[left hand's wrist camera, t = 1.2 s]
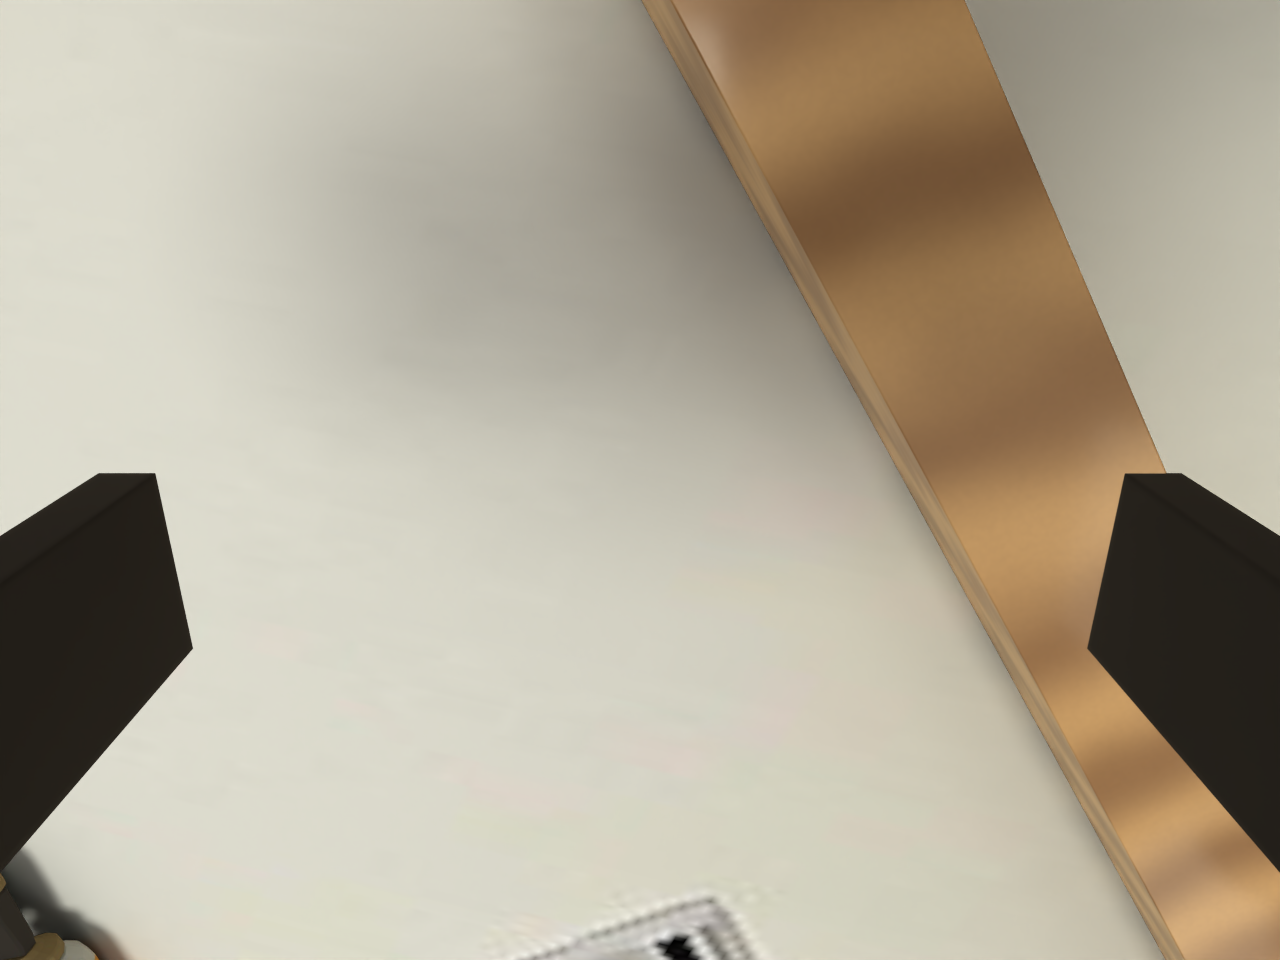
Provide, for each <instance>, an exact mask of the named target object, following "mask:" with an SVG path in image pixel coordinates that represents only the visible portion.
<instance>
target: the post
mask: <svg viewBox="0 0 1280 960" xmlns="http://www.w3.org/2000/svg"><path fill="white" fill-rule="evenodd" d="M641 1H642V2H643V4H644V6H645V8H646V10H647V12H648V13H649V15H650V17H651V19H652V21H653V23H654V24H655V26H656V28H657V30H658V32H659V34H660V35H661V37H662V39H663V41H664V43H665V44H666V46H667V48H668V50H669V52H670V54H671V55H672V57H673V59H674V61H675V63H676V65H677V66H678V68H679V70H680V72H681V74H682V76H683V77H684V79H685V81H686V83H687V85H688V87H689V88H690V90H691V92H692V94H693V96H694V98H695V99H696V101H697V103H698V105H699V107H700V109H701V110H702V112H703V114H704V116H705V118H706V120H707V121H708V123H709V125H710V127H711V129H712V131H713V132H714V134H715V136H716V138H717V140H718V141H719V143H720V145H721V147H722V149H723V151H724V152H725V154H726V156H727V158H728V160H729V162H730V163H731V165H732V167H733V169H734V171H735V173H736V174H737V176H738V178H739V180H740V182H741V184H742V185H743V187H744V189H745V191H746V193H747V195H748V196H749V198H750V200H751V202H752V204H753V206H754V207H755V209H756V211H757V213H758V215H759V217H760V218H761V220H762V222H763V224H764V226H765V227H766V229H767V231H768V233H769V235H770V237H771V238H772V240H773V242H774V244H775V246H776V248H777V249H778V251H779V253H780V255H781V257H782V259H783V260H784V262H785V264H786V266H787V268H788V270H789V271H790V273H791V275H792V277H793V279H794V281H795V282H796V284H797V286H798V288H799V290H800V292H801V293H802V295H803V297H804V299H805V301H806V303H807V304H808V306H809V308H810V310H811V312H812V314H813V315H814V317H815V319H816V321H817V323H818V324H819V326H820V328H821V330H822V332H823V334H824V335H825V337H826V339H827V341H828V343H829V345H830V346H831V348H832V350H833V352H834V354H835V356H836V357H837V359H838V361H839V363H840V365H841V367H842V368H843V370H844V372H845V374H846V376H847V378H848V379H849V381H850V383H851V385H852V387H853V389H854V390H855V392H856V394H857V396H858V398H859V400H860V401H861V403H862V405H863V407H864V409H865V410H866V412H867V414H868V416H869V418H870V420H871V421H872V423H873V425H874V427H875V429H876V431H877V432H878V434H879V436H880V438H881V440H882V442H883V443H884V445H885V447H886V449H887V451H888V453H889V454H890V456H891V458H892V460H893V462H894V464H895V465H896V467H897V469H898V471H899V473H900V475H901V476H902V478H903V480H904V482H905V484H906V486H907V487H908V489H909V491H910V493H911V495H912V497H913V498H914V500H915V502H916V504H917V506H918V507H919V509H920V511H921V513H922V515H923V517H924V518H925V520H926V522H927V524H928V526H929V528H930V529H931V531H932V533H933V535H934V537H935V539H936V540H937V542H938V544H939V546H940V548H941V550H942V551H943V553H944V555H945V557H946V559H947V561H948V562H949V564H950V566H951V568H952V570H953V572H954V573H955V575H956V577H957V579H958V581H959V583H960V584H961V586H962V588H963V590H964V592H965V593H966V595H967V597H968V599H969V601H970V603H971V604H972V606H973V608H974V610H975V612H976V614H977V615H978V617H979V619H980V621H981V623H982V625H983V626H984V628H985V630H986V632H987V634H988V636H989V637H990V639H991V641H992V643H993V645H994V647H995V648H996V650H997V652H998V654H999V656H1000V658H1001V659H1002V661H1003V663H1004V665H1005V667H1006V669H1007V670H1008V672H1009V674H1010V676H1011V678H1012V680H1013V681H1014V683H1015V685H1016V687H1017V689H1018V690H1019V692H1020V694H1021V696H1022V698H1023V700H1024V701H1025V703H1026V705H1027V707H1028V709H1029V711H1030V712H1031V714H1032V716H1033V718H1034V720H1035V722H1036V723H1037V725H1038V727H1039V729H1040V731H1041V733H1042V734H1043V736H1044V738H1045V740H1046V742H1047V744H1048V745H1049V747H1050V749H1051V751H1052V753H1053V755H1054V756H1055V758H1056V760H1057V762H1058V764H1059V766H1060V767H1061V769H1062V771H1063V773H1064V775H1065V776H1066V778H1067V780H1068V782H1069V784H1070V786H1071V787H1072V789H1073V791H1074V793H1075V795H1076V797H1077V798H1078V800H1079V802H1080V804H1081V806H1082V808H1083V809H1084V811H1085V813H1086V815H1087V817H1088V819H1089V820H1090V822H1091V824H1092V826H1093V828H1094V830H1095V831H1096V833H1097V835H1098V837H1099V839H1100V841H1101V842H1102V844H1103V846H1104V848H1105V850H1106V852H1107V853H1108V855H1109V857H1110V859H1111V861H1112V863H1113V864H1114V866H1115V868H1116V870H1117V872H1118V873H1119V875H1120V877H1121V879H1122V881H1123V883H1124V884H1125V886H1126V888H1127V890H1128V892H1129V894H1130V895H1131V897H1132V899H1133V901H1134V903H1135V905H1136V906H1137V908H1138V910H1139V912H1140V914H1141V916H1142V917H1143V919H1144V921H1145V923H1146V925H1147V927H1148V928H1149V930H1150V932H1151V934H1152V936H1153V938H1154V939H1155V941H1156V943H1157V945H1158V947H1159V949H1160V950H1161V952H1162V954H1163V956H1164V958H1165V959H1166V960H1280V872H1279V871H1278V870H1277V869H1276V868H1275V866H1274V865H1273V864H1272V863H1271V862H1270V861H1269V859H1268V858H1267V857H1266V856H1265V855H1264V854H1263V853H1262V851H1261V850H1260V849H1259V848H1258V847H1257V846H1256V844H1255V843H1254V842H1253V841H1252V840H1251V839H1250V837H1249V836H1248V835H1247V834H1246V833H1245V832H1244V830H1243V829H1242V828H1241V827H1240V826H1239V825H1238V823H1237V822H1236V821H1235V820H1234V819H1233V818H1232V816H1231V815H1230V814H1229V813H1228V812H1227V811H1226V809H1225V808H1224V807H1223V806H1222V805H1221V804H1220V803H1219V801H1218V800H1217V799H1216V798H1215V797H1214V796H1213V794H1212V793H1211V792H1210V791H1209V790H1208V789H1207V787H1206V786H1205V785H1204V784H1203V783H1202V782H1201V780H1200V779H1199V778H1198V777H1197V776H1196V775H1195V773H1194V772H1193V771H1192V770H1191V769H1190V768H1189V766H1188V765H1187V764H1186V763H1185V762H1184V761H1183V759H1182V758H1181V757H1180V756H1179V755H1178V754H1177V753H1176V751H1175V750H1174V749H1173V748H1172V747H1171V746H1170V744H1169V743H1168V742H1167V741H1166V740H1165V739H1164V737H1163V736H1162V735H1161V734H1160V733H1159V732H1158V730H1157V729H1156V728H1155V727H1154V726H1153V725H1152V723H1151V722H1150V721H1149V720H1148V719H1147V718H1146V716H1145V715H1144V714H1143V713H1142V712H1141V711H1140V709H1139V708H1138V707H1137V706H1136V705H1135V704H1134V703H1133V701H1132V700H1131V699H1130V698H1129V697H1128V696H1127V694H1126V693H1125V692H1124V691H1123V690H1122V689H1121V687H1120V686H1119V685H1118V684H1117V683H1116V682H1115V680H1114V679H1113V678H1112V677H1111V676H1110V675H1109V673H1108V672H1107V671H1106V670H1105V669H1104V668H1103V666H1102V665H1101V664H1100V663H1099V662H1098V661H1097V659H1096V658H1095V657H1094V656H1093V655H1092V654H1091V653H1090V651H1089V650H1088V649H1087V647H1088V642H1089V637H1090V633H1091V628H1092V623H1093V619H1094V614H1095V609H1096V605H1097V600H1098V595H1099V591H1100V586H1101V582H1102V577H1103V572H1104V568H1105V563H1106V558H1107V554H1108V549H1109V544H1110V540H1111V535H1112V530H1113V526H1114V521H1115V516H1116V512H1117V507H1118V503H1119V498H1120V493H1121V489H1122V484H1123V479H1124V475H1125V473H1166V471H1165V468H1164V466H1163V464H1162V461H1161V459H1160V457H1159V454H1158V452H1157V450H1156V447H1155V445H1154V443H1153V440H1152V438H1151V436H1150V433H1149V431H1148V429H1147V426H1146V424H1145V422H1144V419H1143V417H1142V415H1141V412H1140V410H1139V407H1138V405H1137V403H1136V400H1135V398H1134V396H1133V393H1132V391H1131V389H1130V386H1129V384H1128V382H1127V379H1126V377H1125V375H1124V372H1123V370H1122V368H1121V365H1120V363H1119V361H1118V358H1117V356H1116V354H1115V351H1114V349H1113V347H1112V344H1111V342H1110V340H1109V337H1108V335H1107V333H1106V330H1105V328H1104V326H1103V323H1102V321H1101V319H1100V316H1099V314H1098V312H1097V309H1096V307H1095V305H1094V302H1093V300H1092V297H1091V295H1090V293H1089V290H1088V288H1087V286H1086V283H1085V281H1084V279H1083V276H1082V274H1081V272H1080V269H1079V267H1078V265H1077V262H1076V260H1075V258H1074V255H1073V253H1072V251H1071V248H1070V246H1069V244H1068V241H1067V239H1066V237H1065V234H1064V232H1063V230H1062V227H1061V225H1060V223H1059V220H1058V218H1057V216H1056V213H1055V211H1054V209H1053V206H1052V204H1051V202H1050V199H1049V197H1048V194H1047V192H1046V190H1045V187H1044V185H1043V183H1042V180H1041V178H1040V176H1039V173H1038V171H1037V169H1036V166H1035V164H1034V162H1033V159H1032V157H1031V155H1030V152H1029V150H1028V148H1027V145H1026V143H1025V141H1024V138H1023V136H1022V134H1021V131H1020V129H1019V127H1018V124H1017V122H1016V120H1015V117H1014V115H1013V113H1012V110H1011V108H1010V106H1009V103H1008V101H1007V99H1006V96H1005V94H1004V92H1003V89H1002V87H1001V84H1000V82H999V80H998V77H997V75H996V73H995V70H994V68H993V66H992V63H991V61H990V59H989V56H988V54H987V52H986V49H985V47H984V45H983V42H982V40H981V38H980V35H979V33H978V31H977V28H976V26H975V24H974V21H973V19H972V17H971V14H970V12H969V10H968V7H967V5H966V3H965V0H641Z"/></svg>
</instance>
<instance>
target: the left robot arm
mask: <svg viewBox="0 0 1280 960" xmlns="http://www.w3.org/2000/svg"><path fill="white" fill-rule="evenodd" d="M192 649H193V647H192V642H191V637H190V633H189V628H188V623H187V619H186V614H185V609H184V605H183V600H182V595H181V591H180V586H179V582H178V577H177V572H176V568H175V563H174V558H173V554H172V549H171V544H170V540H169V535H168V530H167V526H166V521H165V516H164V512H163V507H162V503H161V498H160V493H159V489H158V484H157V479H156V475H155V473H98V474H97V475H95V476H94V477H92V478H91V479H89V480H87V481H86V482H84V483H83V484H81V485H80V486H78V487H76V488H75V489H73V490H72V491H70V492H69V493H67V494H65V495H64V496H62V497H61V498H59V499H58V500H56V501H54V502H53V503H51V504H50V505H48V506H47V507H45V508H43V509H42V510H40V511H39V512H37V513H36V514H34V515H32V516H31V517H29V518H28V519H26V520H25V521H23V522H21V523H20V524H18V525H17V526H15V527H14V528H12V529H10V530H9V531H7V532H6V533H4V534H3V535H1V536H0V872H1V871H2V870H3V869H4V868H5V866H6V865H7V864H8V863H9V862H10V861H11V859H12V858H13V857H14V856H15V855H16V854H17V853H18V851H19V850H20V849H21V848H22V847H23V846H24V844H25V843H26V842H27V841H28V840H29V839H30V837H31V836H32V835H33V834H34V833H35V832H36V830H37V829H38V828H39V827H40V826H41V825H42V823H43V822H44V821H45V820H46V819H47V818H48V816H49V815H50V814H51V813H52V812H53V811H54V809H55V808H56V807H57V806H58V805H59V804H60V803H61V801H62V800H63V799H64V798H65V797H66V796H67V794H68V793H69V792H70V791H71V790H72V789H73V787H74V786H75V785H76V784H77V783H78V782H79V780H80V779H81V778H82V777H83V776H84V775H85V773H86V772H87V771H88V770H89V769H90V768H91V766H92V765H93V764H94V763H95V762H96V761H97V759H98V758H99V757H100V756H101V755H102V754H103V753H104V751H105V750H106V749H107V748H108V747H109V746H110V744H111V743H112V742H113V741H114V740H115V739H116V737H117V736H118V735H119V734H120V733H121V732H122V730H123V729H124V728H125V727H126V726H127V725H128V723H129V722H130V721H131V720H132V719H133V718H134V716H135V715H136V714H137V713H138V712H139V711H140V709H141V708H142V707H143V706H144V705H145V704H146V703H147V701H148V700H149V699H150V698H151V697H152V696H153V694H154V693H155V692H156V691H157V690H158V689H159V687H160V686H161V685H162V684H163V683H164V682H165V680H166V679H167V678H168V677H169V676H170V675H171V673H172V672H173V671H174V670H175V669H176V668H177V666H178V665H179V664H180V663H181V662H182V661H183V659H184V658H185V657H186V656H187V655H188V654H189V652H190V651H191V650H192ZM1087 649H1088V650H1089V651H1090V653H1091V654H1092V655H1093V656H1094V657H1095V658H1096V659H1097V661H1098V662H1099V663H1100V664H1101V665H1102V666H1103V668H1104V669H1105V670H1106V671H1107V672H1108V673H1109V675H1110V676H1111V677H1112V678H1113V679H1114V680H1115V682H1116V683H1117V684H1118V685H1119V686H1120V687H1121V689H1122V690H1123V691H1124V692H1125V693H1126V694H1127V696H1128V697H1129V698H1130V699H1131V700H1132V701H1133V703H1134V704H1135V705H1136V706H1137V707H1138V708H1139V709H1140V711H1141V712H1142V713H1143V714H1144V715H1145V716H1146V718H1147V719H1148V720H1149V721H1150V722H1151V723H1152V725H1153V726H1154V727H1155V728H1156V729H1157V730H1158V732H1159V733H1160V734H1161V735H1162V736H1163V737H1164V739H1165V740H1166V741H1167V742H1168V743H1169V744H1170V746H1171V747H1172V748H1173V749H1174V750H1175V751H1176V753H1177V754H1178V755H1179V756H1180V757H1181V758H1182V759H1183V761H1184V762H1185V763H1186V764H1187V765H1188V766H1189V768H1190V769H1191V770H1192V771H1193V772H1194V773H1195V775H1196V776H1197V777H1198V778H1199V779H1200V780H1201V782H1202V783H1203V784H1204V785H1205V786H1206V787H1207V789H1208V790H1209V791H1210V792H1211V793H1212V794H1213V796H1214V797H1215V798H1216V799H1217V800H1218V801H1219V803H1220V804H1221V805H1222V806H1223V807H1224V808H1225V809H1226V811H1227V812H1228V813H1229V814H1230V815H1231V816H1232V818H1233V819H1234V820H1235V821H1236V822H1237V823H1238V825H1239V826H1240V827H1241V828H1242V829H1243V830H1244V832H1245V833H1246V834H1247V835H1248V836H1249V837H1250V839H1251V840H1252V841H1253V842H1254V843H1255V844H1256V846H1257V847H1258V848H1259V849H1260V850H1261V851H1262V853H1263V854H1264V855H1265V856H1266V857H1267V858H1268V859H1269V861H1270V862H1271V863H1272V864H1273V865H1274V866H1275V868H1276V869H1277V870H1278V871H1279V872H1280V536H1279V535H1277V534H1276V533H1274V532H1273V531H1271V530H1270V529H1268V528H1266V527H1265V526H1263V525H1262V524H1260V523H1259V522H1257V521H1255V520H1254V519H1252V518H1251V517H1249V516H1248V515H1246V514H1244V513H1243V512H1241V511H1240V510H1238V509H1237V508H1235V507H1233V506H1232V505H1230V504H1229V503H1227V502H1226V501H1224V500H1222V499H1221V498H1219V497H1218V496H1216V495H1215V494H1213V493H1211V492H1210V491H1208V490H1207V489H1205V488H1204V487H1202V486H1200V485H1199V484H1197V483H1196V482H1194V481H1193V480H1191V479H1189V478H1188V477H1186V476H1185V475H1183V474H1182V473H1125V475H1124V479H1123V484H1122V489H1121V493H1120V498H1119V503H1118V507H1117V512H1116V516H1115V521H1114V526H1113V530H1112V535H1111V540H1110V544H1109V549H1108V554H1107V558H1106V563H1105V568H1104V572H1103V577H1102V582H1101V586H1100V591H1099V595H1098V600H1097V605H1096V609H1095V614H1094V619H1093V623H1092V628H1091V633H1090V637H1089V642H1088V647H1087Z"/></svg>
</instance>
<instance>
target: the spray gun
mask: <svg viewBox="0 0 1280 960" xmlns="http://www.w3.org/2000/svg"><path fill="white" fill-rule="evenodd" d="M5 885H6V882H5V879H4V878H3V876H2V875H1V873H0V960H99V959H98V957H97V956H96V955H95V953H94V952H93V951H92V950H91V949H90V948H88V947H87V946H85V945H84V944H82V943H81V942H79V941H76V940H62V939H61V938H60V937H59V935H58V934H57V933H43V934H40V935H37V936H34V935H33V932H32V931H31V929H30V927H29V925H28V924H27V922H26V920H25V919H24V917H23V915H22V913H21V912H20V910H19V908H18V907H17V905H16V903H15V901H14V900H13V898H12V896H11V895H10V893H9V891H8V889H7V888H4V886H5Z"/></svg>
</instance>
